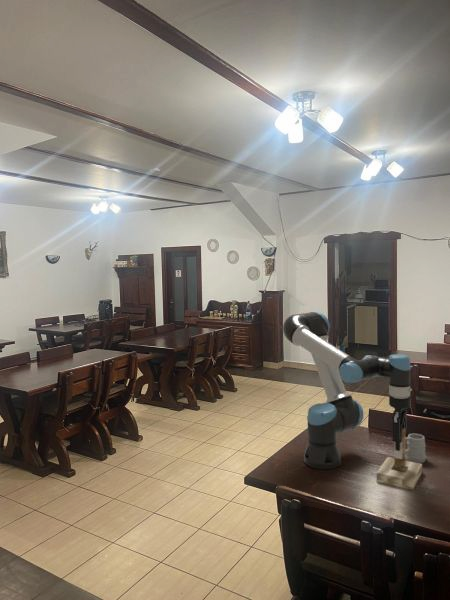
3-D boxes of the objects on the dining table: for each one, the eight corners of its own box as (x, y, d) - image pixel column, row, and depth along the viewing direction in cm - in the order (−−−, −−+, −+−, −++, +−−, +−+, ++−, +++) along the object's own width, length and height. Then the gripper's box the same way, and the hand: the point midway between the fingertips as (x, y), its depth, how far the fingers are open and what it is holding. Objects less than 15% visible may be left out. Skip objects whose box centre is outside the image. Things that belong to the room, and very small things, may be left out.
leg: (393, 465, 173) (392, 429, 172) (395, 461, 176) (395, 426, 175) (404, 467, 171) (404, 431, 170) (406, 463, 174) (406, 427, 173)
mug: (430, 462, 185) (430, 434, 184) (402, 464, 184) (402, 436, 183) (420, 454, 193) (420, 427, 192) (393, 456, 192) (393, 429, 191)
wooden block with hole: (376, 481, 171) (376, 472, 171) (387, 465, 184) (387, 456, 184) (413, 490, 164) (413, 481, 164) (422, 472, 177) (422, 463, 177)
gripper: (404, 403, 162) (404, 466, 164) (415, 391, 176) (415, 449, 178) (383, 400, 166) (383, 462, 168) (395, 389, 180) (395, 445, 182)
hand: (399, 455), depth 173 cm, fingers closed on leg, 4 cm apart
